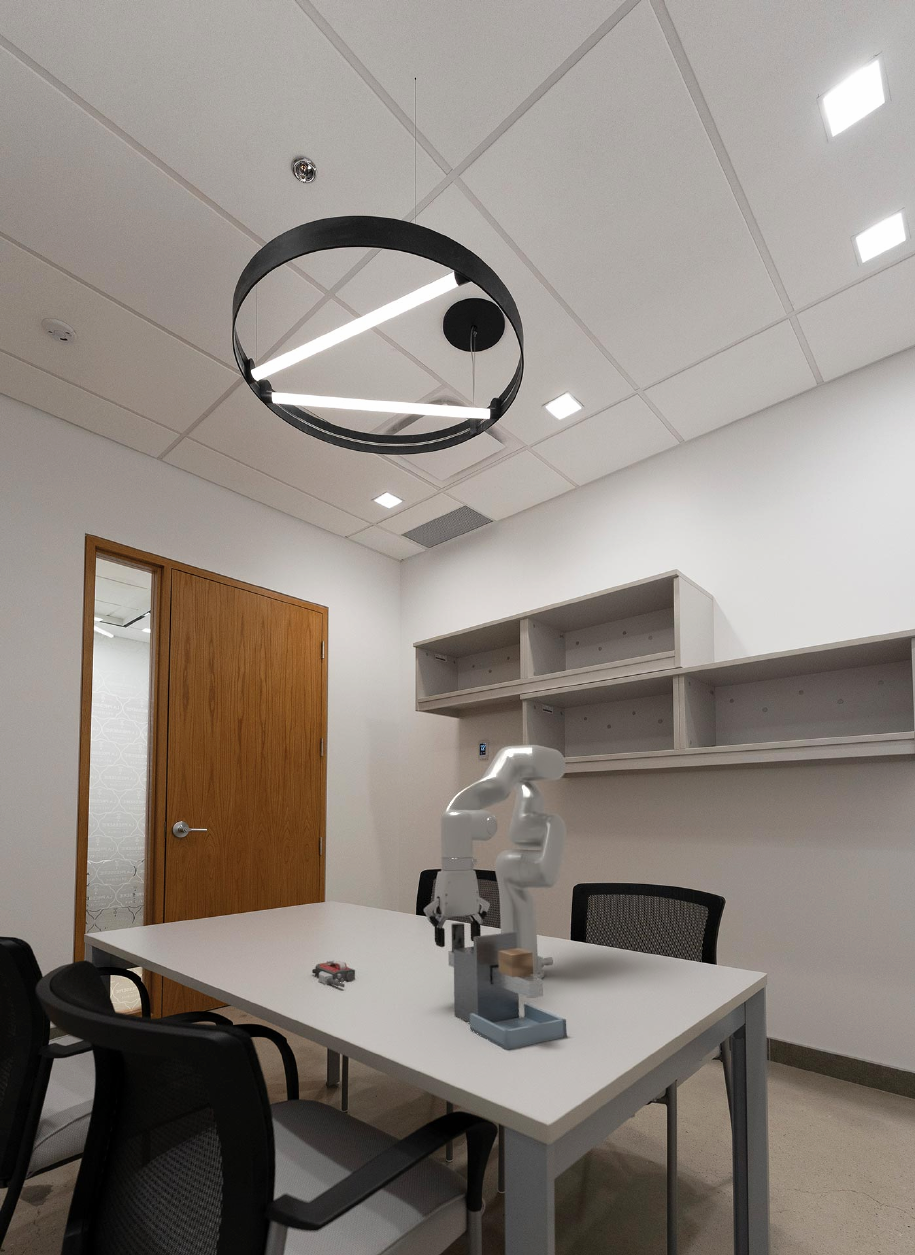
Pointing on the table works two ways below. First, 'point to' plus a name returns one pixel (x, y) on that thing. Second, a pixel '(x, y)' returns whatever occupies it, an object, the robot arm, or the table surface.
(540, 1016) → the slate tray
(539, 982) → the steel shaft
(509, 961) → the block
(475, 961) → the bracket
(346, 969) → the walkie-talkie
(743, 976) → the table surface
